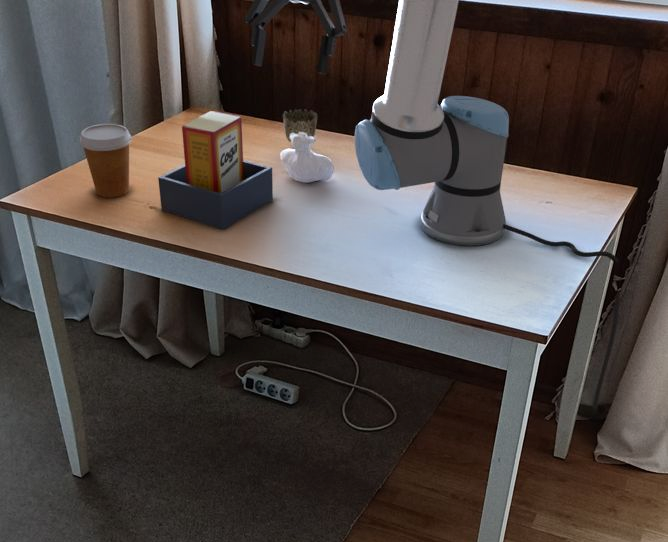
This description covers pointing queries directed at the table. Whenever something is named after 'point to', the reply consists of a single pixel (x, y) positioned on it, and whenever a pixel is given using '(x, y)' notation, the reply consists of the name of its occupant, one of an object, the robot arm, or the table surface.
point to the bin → (216, 196)
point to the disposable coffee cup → (108, 158)
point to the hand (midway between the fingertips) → (288, 69)
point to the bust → (305, 160)
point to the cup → (299, 123)
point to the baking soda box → (213, 151)
